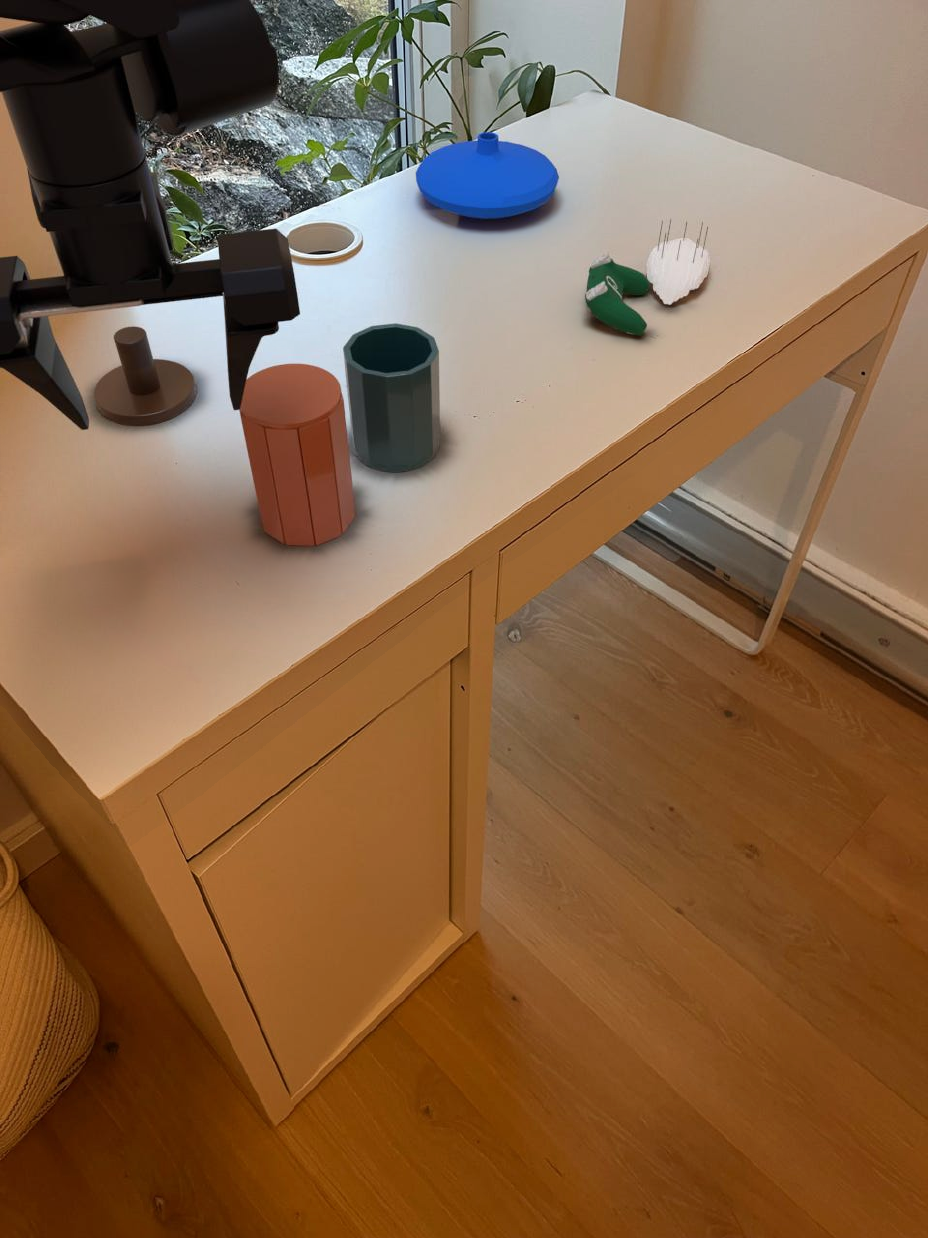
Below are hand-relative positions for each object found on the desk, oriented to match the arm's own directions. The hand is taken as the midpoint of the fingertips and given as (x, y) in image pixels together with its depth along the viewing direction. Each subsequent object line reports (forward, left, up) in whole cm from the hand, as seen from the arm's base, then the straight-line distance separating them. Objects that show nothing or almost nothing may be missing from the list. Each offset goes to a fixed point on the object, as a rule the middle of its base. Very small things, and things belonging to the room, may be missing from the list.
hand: (161, 415), depth 60 cm
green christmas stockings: (+40, +27, -13) cm, 50 cm away
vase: (+33, +52, -13) cm, 63 cm away
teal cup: (+16, +11, -13) cm, 23 cm away
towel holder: (-4, +22, -13) cm, 26 cm away
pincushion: (+48, +32, -13) cm, 59 cm away
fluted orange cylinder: (+8, +4, -13) cm, 16 cm away
